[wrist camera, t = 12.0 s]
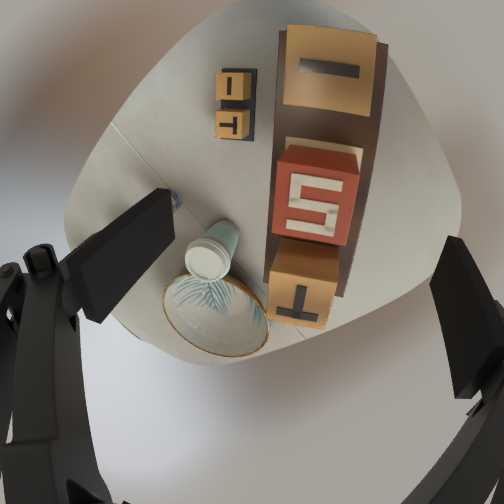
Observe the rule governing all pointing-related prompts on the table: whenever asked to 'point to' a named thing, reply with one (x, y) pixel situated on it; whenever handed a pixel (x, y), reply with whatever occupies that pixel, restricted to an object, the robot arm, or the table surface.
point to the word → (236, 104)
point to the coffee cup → (212, 252)
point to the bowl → (216, 315)
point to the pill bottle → (175, 200)
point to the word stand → (324, 137)
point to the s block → (315, 194)
